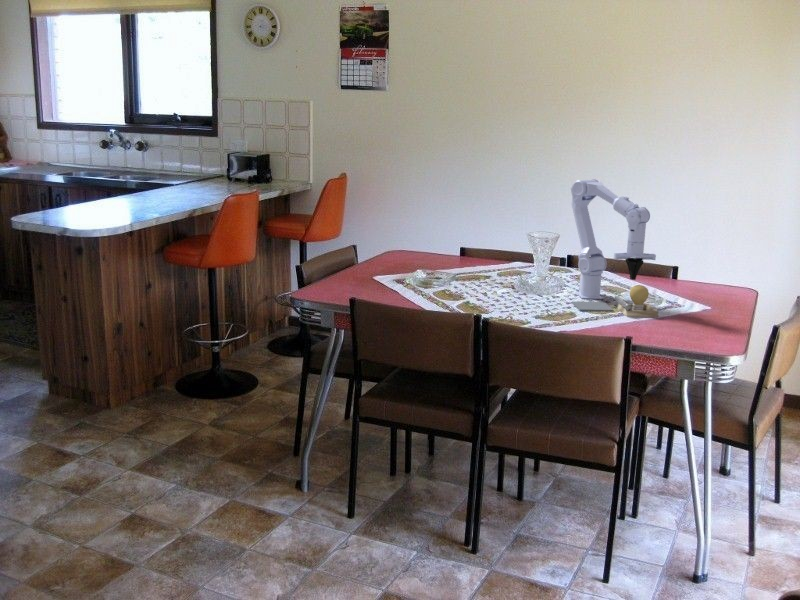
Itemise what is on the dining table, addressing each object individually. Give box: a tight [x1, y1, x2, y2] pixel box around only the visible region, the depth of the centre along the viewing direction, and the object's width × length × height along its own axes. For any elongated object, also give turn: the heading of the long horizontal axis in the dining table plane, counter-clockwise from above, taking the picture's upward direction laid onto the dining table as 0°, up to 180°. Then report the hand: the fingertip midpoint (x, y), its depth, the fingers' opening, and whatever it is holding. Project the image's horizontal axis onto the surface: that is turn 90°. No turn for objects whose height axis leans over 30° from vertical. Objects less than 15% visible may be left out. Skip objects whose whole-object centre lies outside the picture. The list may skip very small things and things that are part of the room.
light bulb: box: [629, 284, 650, 310], centre depth 296 cm, size 6×6×10 cm
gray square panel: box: [571, 301, 614, 312], centre depth 305 cm, size 12×12×1 cm
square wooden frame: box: [617, 303, 659, 318], centre depth 297 cm, size 11×11×2 cm
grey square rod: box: [614, 295, 632, 310], centre depth 298 cm, size 15×2×2 cm, turn 2°
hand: (632, 279), depth 303 cm, fingers closed
